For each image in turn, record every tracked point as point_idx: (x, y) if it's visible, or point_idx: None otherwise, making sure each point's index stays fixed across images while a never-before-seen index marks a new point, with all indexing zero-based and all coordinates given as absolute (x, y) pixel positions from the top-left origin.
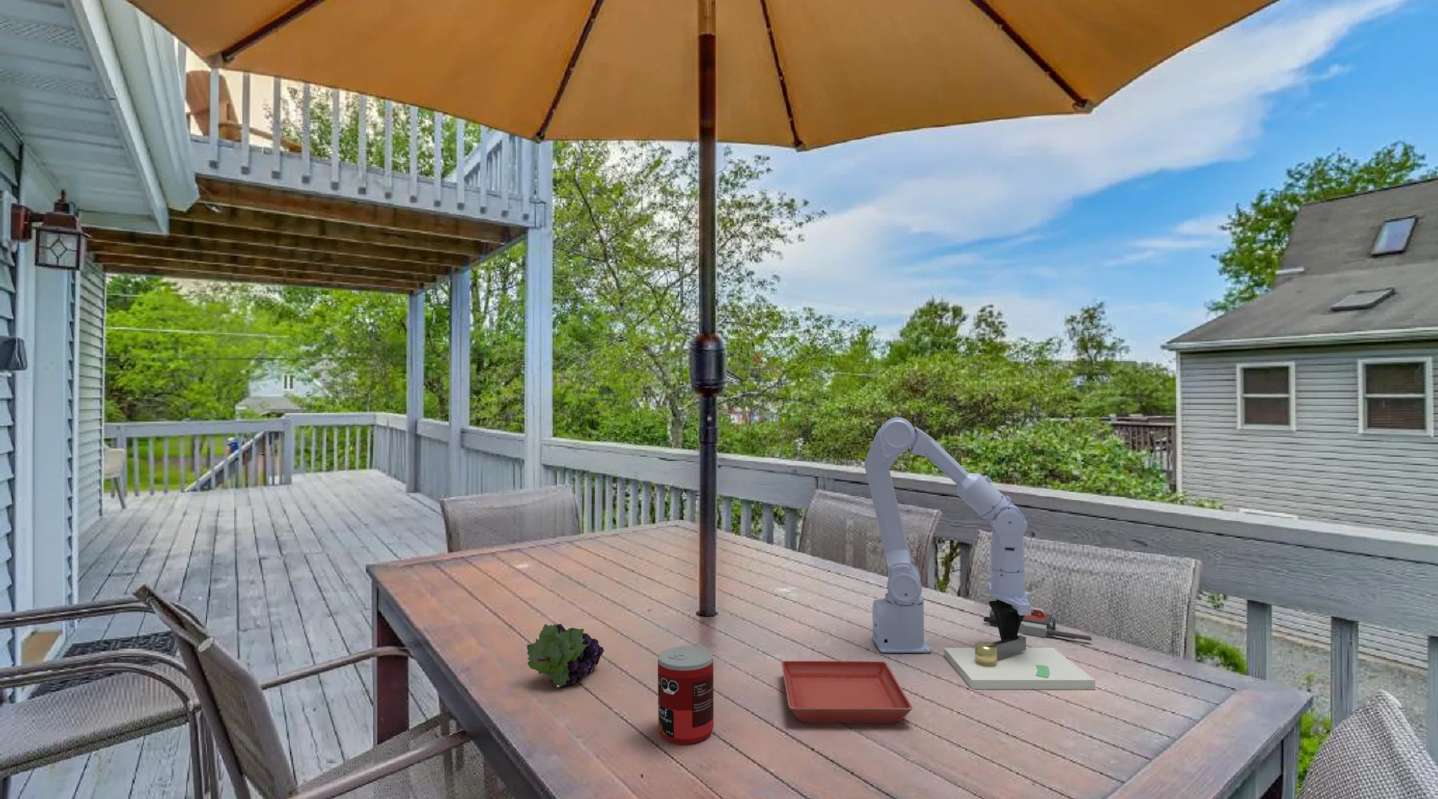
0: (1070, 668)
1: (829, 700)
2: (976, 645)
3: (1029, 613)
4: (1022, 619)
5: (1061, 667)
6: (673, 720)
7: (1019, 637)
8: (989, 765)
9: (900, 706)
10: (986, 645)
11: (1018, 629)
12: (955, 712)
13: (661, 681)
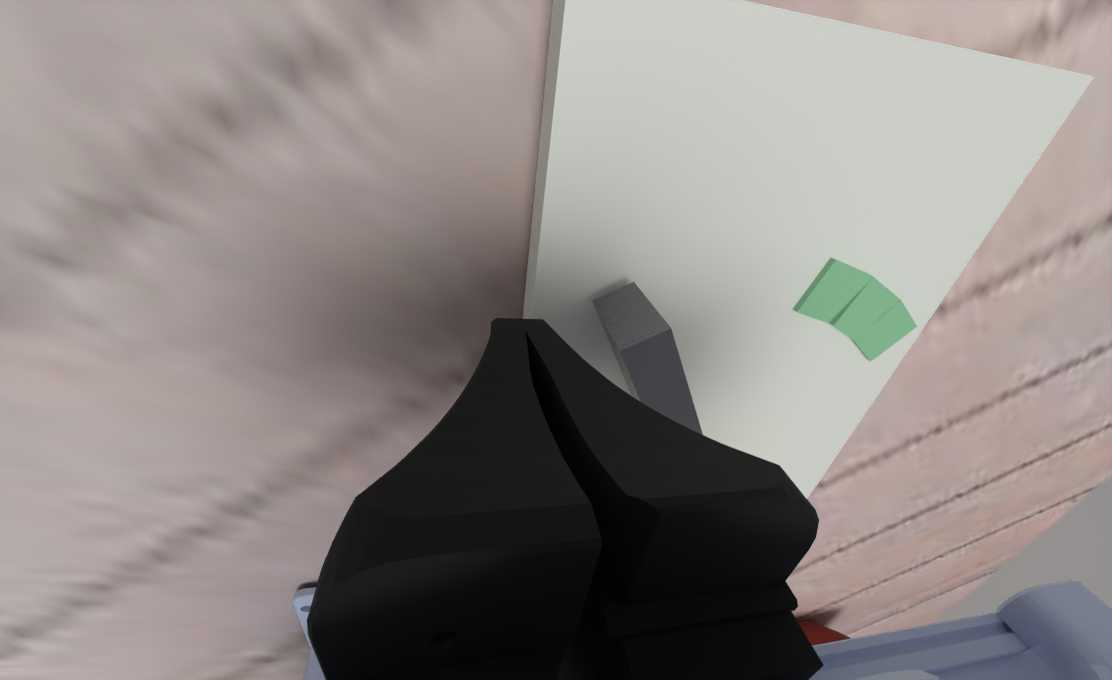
0: (917, 123)
1: None
2: None
3: (1091, 614)
4: (676, 424)
5: (878, 177)
6: None
7: (667, 376)
8: (995, 537)
9: (808, 638)
10: None
11: (593, 368)
12: (836, 554)
13: None
